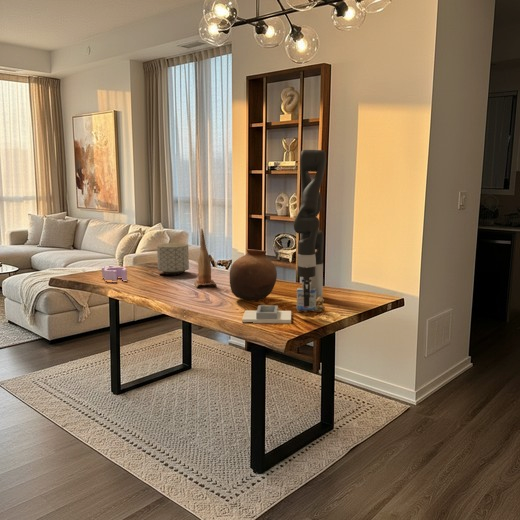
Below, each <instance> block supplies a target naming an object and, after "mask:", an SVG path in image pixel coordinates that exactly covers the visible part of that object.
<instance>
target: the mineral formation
mask: <svg viewBox="0 0 520 520" xmlns="http://www.w3.org/2000/svg"><path fill="white" fill-rule="evenodd" d="M324 302H325V299H324V298H322V297H318V298H317V297H316V309H315V310H297V312H298V313H300V312H301V313H308V312H309V311H310V312H314V313H317V312H318V313H319V312H321V311H322V310H325V309H326V306H324ZM301 313H300V314H301Z"/></svg>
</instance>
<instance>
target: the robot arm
mask: <svg viewBox="0 0 520 520" xmlns="http://www.w3.org/2000/svg"><path fill="white" fill-rule="evenodd" d="M326 164H327V154H326V151H325V150H321V149H303V150H301V152H300V155H299V166H300V167H299V168H300V180H301V181H300V182H301V189H300V191H301V192H300V193H301V196H300V207H299V209H298V213H297V214H296V217H295V218H294V221H293V230H294V231H295V233H296V234H300V240H298V243H297V244H298V245H297V276H298V277H300V278H302V279H301V285H302V287H301V288H302V291H303V292H304V295H303V297H304V306H309V298H310V292H311V288H316V297H317V298H318V297H322V298H323V293H324V291H323V290H324V289H323V287H324V277H323V276H324V275H323V274H324V273H323V272H324V240H325V239H324V232H323V230H319V229H320V226H321V221H320V220H319V218H318V215H319V214H320V212H321V210H322V194H321V192H320V191H321V187H322V183H323V180H324V175H325V170H326V166H327V165H326ZM310 172H313V173H314V172H316V173H315V174H314V175H315V176H314V177H313V178H311V176H310ZM306 292H308V294H305V293H306ZM323 299H324V298H323Z"/></svg>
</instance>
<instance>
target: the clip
mask: <svg viewBox="0 0 520 520" xmlns="http://www.w3.org/2000/svg"><path fill="white" fill-rule="evenodd" d="M102 277H104V278H105V279H104V281H105V280H112V281H117V282H118V279H117V277H122V279H121V281H122V280H127V281H128V271H127V267H124V266H116V265H108V267H106V266H102V267H101V278H102Z"/></svg>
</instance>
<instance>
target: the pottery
mask: <svg viewBox="0 0 520 520" xmlns="http://www.w3.org/2000/svg"><path fill="white" fill-rule="evenodd" d="M246 251H247V253H246V254H244V255H242V256H241V257H239V258H237V259H236V260H235V261H233V263H232V264H231V266H230V269H229V287H230V290H231V293H232V294H233V296H235V297H236V298H237V299H240V300H245V301H248V302H259V301H262V300H264V299H266V298H267V297H268V296H270V295H271V293H272V291H273V289H274V287H275V285H276V282H277V277H278V275H277V274H278V273H277V268H276V267H277V266H275V264H274V263H273V261H272V260H270V258H268V257H267V256H266V255H265V254H267V250H261V249H260V250H259V249H249V248H246Z"/></svg>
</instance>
